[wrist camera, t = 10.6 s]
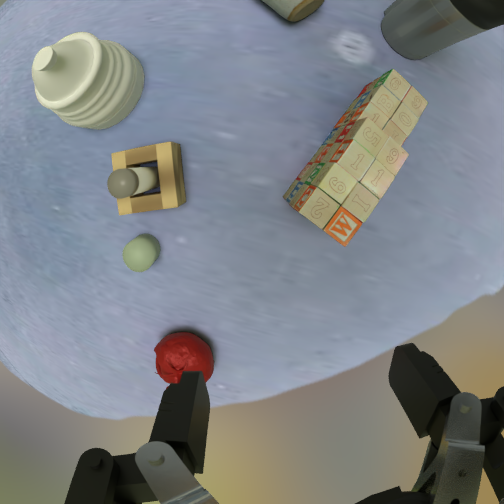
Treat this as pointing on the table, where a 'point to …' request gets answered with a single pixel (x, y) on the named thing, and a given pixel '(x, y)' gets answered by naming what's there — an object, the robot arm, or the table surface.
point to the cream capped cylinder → (133, 181)
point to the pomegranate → (183, 356)
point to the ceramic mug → (294, 8)
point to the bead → (141, 252)
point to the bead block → (168, 176)
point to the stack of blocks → (358, 158)
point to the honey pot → (88, 80)
